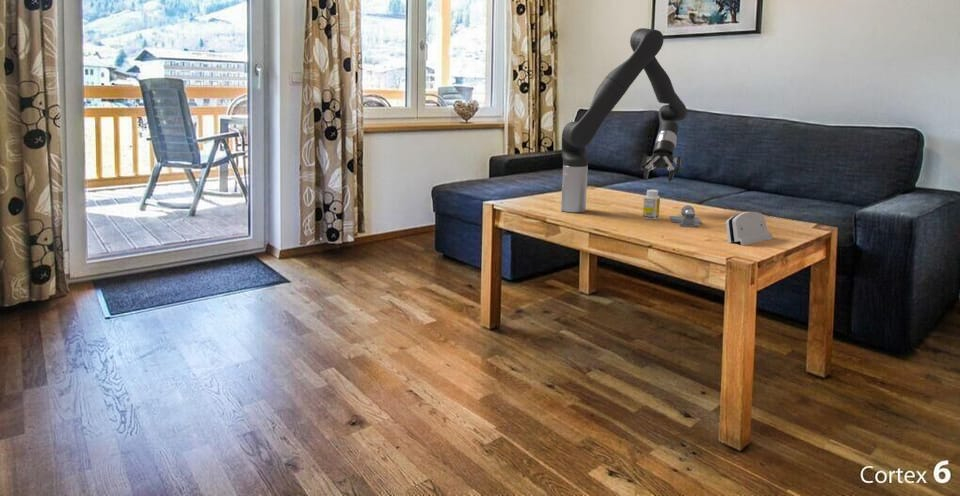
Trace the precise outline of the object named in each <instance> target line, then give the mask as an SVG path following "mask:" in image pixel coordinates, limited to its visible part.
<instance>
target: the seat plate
mask: <svg viewBox="0 0 960 496" xmlns="http://www.w3.org/2000/svg"><path fill="white" fill-rule="evenodd" d="M669 219H670V221H671V223H673V224H679V222H684V217H683V216H682V215H669ZM694 223H698V225H703V223H702V221H701V219H700V218H699V217H698V216H695V220H694Z"/></svg>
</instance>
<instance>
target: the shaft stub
mask: <svg viewBox="0 0 960 496" xmlns="http://www.w3.org/2000/svg"><path fill="white" fill-rule="evenodd" d="M680 213H681V216H683V217H684V222H679V223H678V224H679V227H682V228H683V227H685V228H699V225H700V224H698V223H694V220H695V217H696V213H695V209H694V207H693V206H692V205H690V204H689V205H688V204H686V205H684V206H683V207H682V208H681V210H680Z"/></svg>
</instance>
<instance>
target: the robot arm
mask: <svg viewBox="0 0 960 496" xmlns="http://www.w3.org/2000/svg"><path fill="white" fill-rule="evenodd" d="M630 35H631V36H630V39H629V44H630V48H631V50H632V52H633V53H632V54H631V55H630V56H629V57H628V58H627V59H626V60H625V61H623V62H622V63H621V64H619V65H618V66H616V67H615V68H614V69H612V70H611V71H610V72H609V73H608V74H607V75H605V77H604V79H603V80H602V81H601V83H599V86H598V87H597V88H596V91H595V92H594V95H593V99H592V102H591V103H590V106H589V108H588V110H587V111H586V112H585V113H584V115H582V117H581V118H580V120H579V121H570V122H568V123H567V124H566V125H565V126H564V127H563V129H562V133H561V158H562V183H561V184H562V185H561V201H560V205H561V207H560V211H561V212H566V213H583V212H586V210H587V209H586V208H587V194H588V193H587V190H588V189H587V188H588V172H589V171H588V169H589V168H588V167H589V159H588V156H587V154H586V148H585V147H587V146H588V145H589V144H590V143H591V142H592V140H593V139H594V137H595V135H596V133H597V132H598V131H599V128H600V127H601V126H602V124H603V122H604V121H605V119H606V118H607V117H608V116H609V114H610V113H611V112H612V111H613V110H614V108H615V106H616V105H617V104H618V103H619V102H620V100H621V99H622V98H623V96H624V95H625V94H626V93H627V91H628V90H629V88H630V86H631V85H632V84H633V83H634V81H636V79H637V77H638V76H640V74H641V72H642V71H643V70H644V72H645V74H646V76H647V78H648V80H649V82H650V85H651V87H652V89H653V93H654V94H655V97H656V100H657V102H658V103H659V104H664V105H662V106H661V107H660V108H659V110H658V111H657V113H658V120H659V130H658V134H657V137H656V139H655V144H654V146H653V147H654V148H653V151H652V152H653V153H652V155H651V156H648V154H644V155H643V157H642V160H641V163H640V170H641V171H642V172H643V179H644V180H645V181H648V178H649V175H650V171H651V170H652V171H653V170H654V169H667V171H669V173H668V178H667V179H668V182H669V183H671V181H673V180H674V175H675V174H676V173H677V174H679V173H680V172H681V166H682V158H681V157H682V156H677V157H674V155H675V150H676V147H677V137H678V133H679V125H678V123H677V122H680V121H683V120H685V118H686V117H687V114H688V110H687V107H686V105H685V104H684V101H682V99H681V98H680V97H679V96H678V94H677V93H676V91H675V88H674V86H673V83H672V81H671V79H670V77H669V75H668V74H667V71H665V69H664V68H663V67H662V65H661V64H660V62H659V61H658V59H657V58H656V55H658V54H659V52H660V50H661V49H662V47H663V45H664V41H665V40H664V35H663V33H662V32H661V31H660V30H658V29H655V28H643V27H642V28H637V29H635V30H634V31H633V32H632V34H630ZM647 163H648V164H647ZM673 163H675V164H676V166H675V167H674V165H673Z"/></svg>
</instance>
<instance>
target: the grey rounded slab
mask: <svg viewBox="0 0 960 496" xmlns="http://www.w3.org/2000/svg"><path fill="white" fill-rule="evenodd" d="M725 226H726V227H725V228H726V235H727V243H729V244H730V243H738V242H740V246H748V245H751V244H756V243H760V242H765V241H770V240H773V239H774V238H773V234H772V232H771V231H769V229H768V227H767V223H766V220H765V216H764V214H763V213H761V212H758V211H744V212H740V213H737V214H734V215H732V216H730V217H729V218H728V219H727V220H726V221H725Z"/></svg>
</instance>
